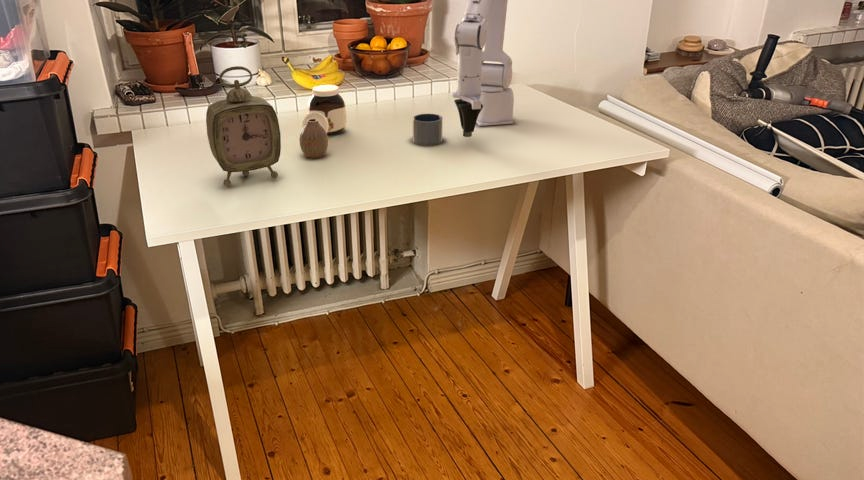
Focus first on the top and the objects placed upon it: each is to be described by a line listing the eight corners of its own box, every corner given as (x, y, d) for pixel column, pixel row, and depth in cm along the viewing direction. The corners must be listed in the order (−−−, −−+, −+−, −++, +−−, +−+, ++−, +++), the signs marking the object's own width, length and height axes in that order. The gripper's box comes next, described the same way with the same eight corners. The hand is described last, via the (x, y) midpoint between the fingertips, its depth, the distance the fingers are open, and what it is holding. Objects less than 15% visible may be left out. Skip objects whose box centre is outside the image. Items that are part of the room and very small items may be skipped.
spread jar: (345, 125, 191) (342, 83, 185) (350, 138, 181) (348, 93, 175) (301, 129, 189) (297, 86, 183) (304, 142, 179) (300, 97, 174)
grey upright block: (470, 134, 175) (471, 110, 172) (472, 136, 173) (473, 112, 170) (461, 134, 175) (462, 111, 172) (464, 137, 173) (465, 113, 170)
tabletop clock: (220, 191, 152) (203, 74, 140) (212, 177, 159) (195, 66, 147) (285, 179, 157) (273, 66, 145) (274, 167, 164) (262, 58, 152)
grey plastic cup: (438, 135, 182) (438, 112, 179) (445, 144, 175) (445, 121, 172) (410, 137, 181) (410, 114, 178) (416, 146, 174) (416, 123, 171)
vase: (333, 151, 172) (331, 117, 168) (322, 161, 167) (319, 125, 162) (307, 149, 174) (305, 115, 170) (296, 158, 169) (292, 123, 165)
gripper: (445, 68, 172) (444, 122, 179) (460, 83, 160) (459, 140, 166) (473, 66, 173) (471, 120, 180) (490, 81, 161) (488, 138, 167)
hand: (467, 130), depth 173 cm, fingers closed on grey upright block, 2 cm apart
